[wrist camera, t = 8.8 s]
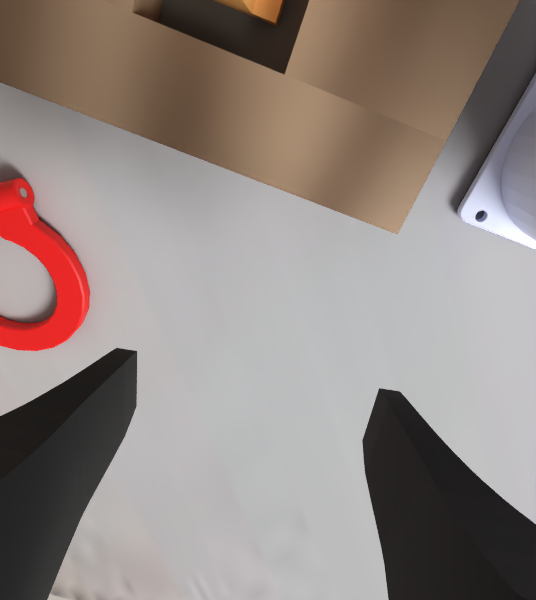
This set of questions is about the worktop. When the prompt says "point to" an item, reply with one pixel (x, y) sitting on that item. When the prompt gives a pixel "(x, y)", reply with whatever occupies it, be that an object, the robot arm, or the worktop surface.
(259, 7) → the orange t-shaped beam
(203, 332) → the worktop surface
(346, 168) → the well board
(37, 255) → the tow hook
